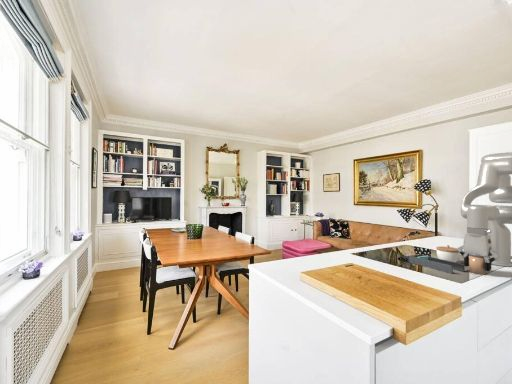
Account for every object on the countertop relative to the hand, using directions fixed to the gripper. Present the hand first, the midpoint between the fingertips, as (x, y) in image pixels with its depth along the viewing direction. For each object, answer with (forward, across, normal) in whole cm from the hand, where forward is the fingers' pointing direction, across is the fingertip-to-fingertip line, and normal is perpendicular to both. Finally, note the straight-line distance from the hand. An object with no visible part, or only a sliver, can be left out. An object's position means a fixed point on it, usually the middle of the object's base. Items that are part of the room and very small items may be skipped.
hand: (477, 268), depth 120 cm
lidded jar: (+2, +17, -7) cm, 19 cm away
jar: (+2, 0, 0) cm, 2 cm away
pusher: (+2, +20, +9) cm, 22 cm away
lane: (+2, +14, +9) cm, 17 cm away
